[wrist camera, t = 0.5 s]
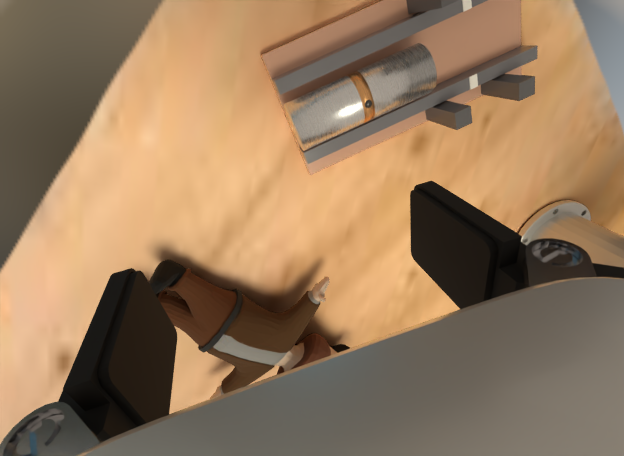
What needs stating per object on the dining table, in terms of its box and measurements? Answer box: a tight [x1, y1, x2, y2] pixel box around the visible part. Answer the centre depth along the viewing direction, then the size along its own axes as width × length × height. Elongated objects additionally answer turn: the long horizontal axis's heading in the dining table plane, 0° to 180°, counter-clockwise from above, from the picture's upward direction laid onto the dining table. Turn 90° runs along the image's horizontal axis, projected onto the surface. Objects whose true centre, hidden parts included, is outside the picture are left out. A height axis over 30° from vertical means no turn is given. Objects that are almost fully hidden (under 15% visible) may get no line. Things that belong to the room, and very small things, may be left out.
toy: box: [149, 260, 350, 399], centre depth 41 cm, size 24×10×30 cm
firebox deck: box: [261, 0, 537, 175], centre depth 30 cm, size 12×25×6 cm, turn 111°
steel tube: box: [283, 43, 437, 151], centre depth 29 cm, size 13×4×5 cm, turn 111°
